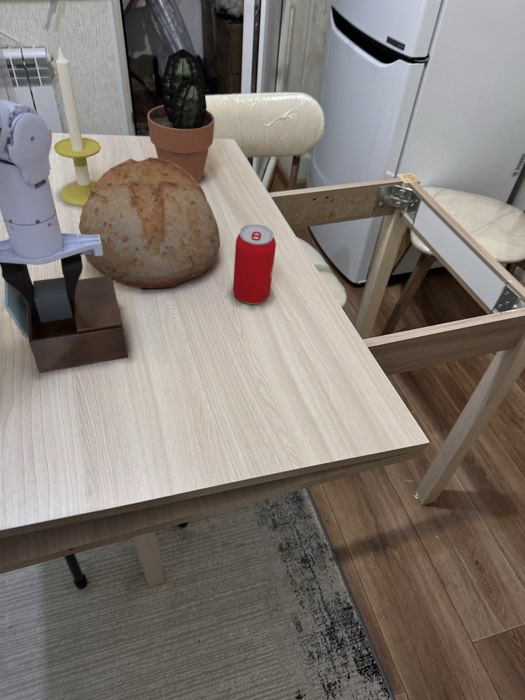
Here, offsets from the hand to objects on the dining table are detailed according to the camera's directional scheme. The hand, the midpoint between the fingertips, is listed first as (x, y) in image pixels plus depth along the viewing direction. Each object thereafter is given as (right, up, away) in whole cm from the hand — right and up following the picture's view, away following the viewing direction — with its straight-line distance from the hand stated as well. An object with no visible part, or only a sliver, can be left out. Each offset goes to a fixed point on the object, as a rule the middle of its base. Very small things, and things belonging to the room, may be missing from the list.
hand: (54, 302), depth 65 cm
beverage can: (+26, +3, +17) cm, 31 cm away
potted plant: (+10, +32, +44) cm, 55 cm away
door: (-4, +1, -3) cm, 5 cm away
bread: (+8, +12, +23) cm, 27 cm away
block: (0, -1, +1) cm, 1 cm away
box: (+1, -5, +6) cm, 8 cm away
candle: (-8, +26, +35) cm, 44 cm away
